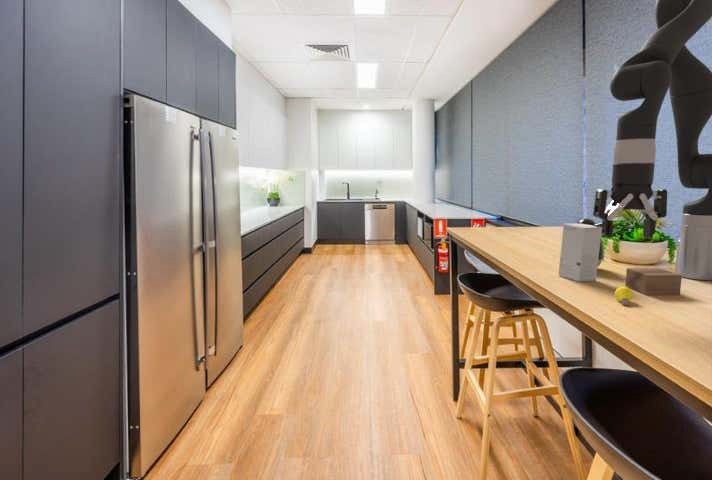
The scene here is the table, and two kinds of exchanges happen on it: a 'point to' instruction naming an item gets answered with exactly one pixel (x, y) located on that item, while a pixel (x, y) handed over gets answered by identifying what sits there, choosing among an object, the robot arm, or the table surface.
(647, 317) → the table surface
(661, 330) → the table surface
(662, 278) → the walnut block
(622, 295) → the light bulb
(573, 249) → the skincare box
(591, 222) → the pump dispenser
